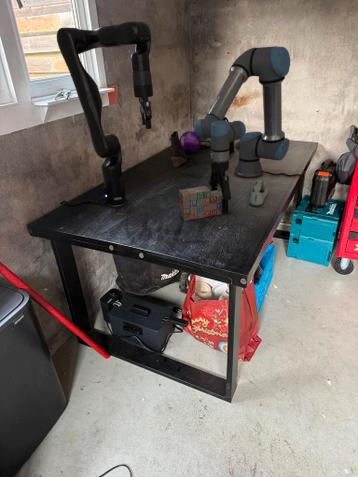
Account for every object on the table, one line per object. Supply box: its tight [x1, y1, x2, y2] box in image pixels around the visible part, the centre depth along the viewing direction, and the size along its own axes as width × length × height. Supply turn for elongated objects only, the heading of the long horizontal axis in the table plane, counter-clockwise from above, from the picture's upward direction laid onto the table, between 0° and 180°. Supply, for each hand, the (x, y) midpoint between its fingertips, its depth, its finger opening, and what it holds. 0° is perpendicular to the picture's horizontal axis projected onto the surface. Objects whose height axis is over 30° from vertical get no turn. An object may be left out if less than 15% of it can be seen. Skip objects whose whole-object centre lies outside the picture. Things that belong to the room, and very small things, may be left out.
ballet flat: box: [249, 179, 269, 207], centre depth 158 cm, size 8×24×8 cm, turn 163°
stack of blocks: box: [178, 185, 231, 222], centre depth 144 cm, size 21×6×12 cm, turn 105°
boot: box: [169, 130, 188, 168], centre depth 211 cm, size 9×24×20 cm, turn 168°
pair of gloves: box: [199, 138, 211, 149], centre depth 251 cm, size 30×26×5 cm
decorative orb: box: [179, 130, 202, 154], centre depth 230 cm, size 15×15×15 cm
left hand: (146, 126), depth 135 cm, fingers open, 8 cm apart
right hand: (219, 207), depth 148 cm, fingers open, 13 cm apart
